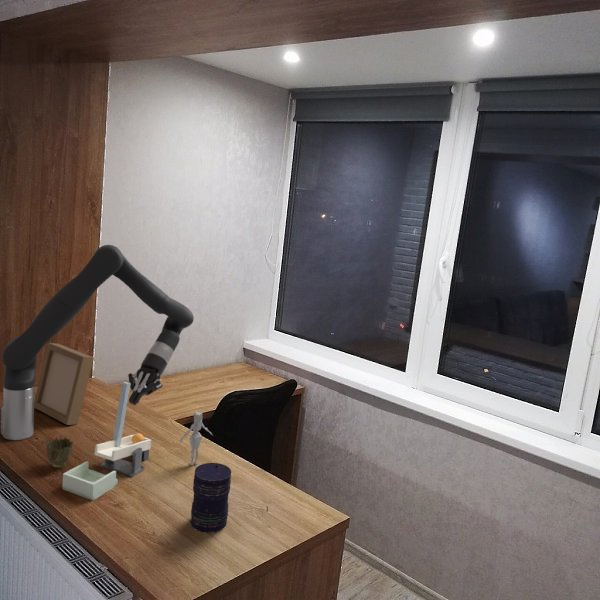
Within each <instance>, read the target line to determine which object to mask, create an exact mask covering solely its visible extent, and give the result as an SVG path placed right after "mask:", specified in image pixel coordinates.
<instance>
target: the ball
mask: <svg viewBox="0 0 600 600" xmlns="http://www.w3.org/2000/svg"><path fill="white" fill-rule="evenodd" d="M134 434H135V435H134ZM134 434H133V435H134V436H133V437H132V442H133V443H134V444H135V443H139V442H142V441H143V440H144V435H143V434H142V433H139V432H137V433H134Z"/></svg>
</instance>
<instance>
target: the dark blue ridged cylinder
mask: <svg viewBox="0 0 600 600" xmlns="http://www.w3.org/2000/svg"><path fill="white" fill-rule="evenodd" d="M231 479H232V470H231V468H230V467H229V466H227V465H225V464H222V463H218V462H206V463H202V464H198V466H196V467H195V469H194V475H193V487H192V492H193V498H192V499H193V500H192V504H191V510H190V517H191V518H190V525H192V526H191V527H192V528H193V530H195V529H196V530H195V531H197V532H199V531H200V533H202V532H206V533H205V534H213V533H212V532H215V533H218V532H217V531H219V532H221V531H223V530H224V529H225V528H226V527H227V525H226V524H228V516H229V515H228V514H229V494H230V490H231V486H232V485H231V484H232V483H231V481H232V480H231ZM225 526H226V527H225ZM224 527H225V528H224ZM223 528H224V529H223ZM222 529H223V530H222ZM220 530H221V531H220Z"/></svg>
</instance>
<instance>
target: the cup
mask: <svg viewBox="0 0 600 600" xmlns="http://www.w3.org/2000/svg"><path fill="white" fill-rule="evenodd" d="M45 446H46V455H47V460H48V461H49V463H50V464H52V468H54V469H56V470H57V469H58V470H59V469H60V470H61V469H63V468H65V466H66V463H67V462H68V461H69V459H70V458H71V456H72V451H73V440H71V441H70V438H67V437H64V438H62V437H60V438H59V439H58V438H57V437H56V438H55V439H54V438H52V439H51V440H50V439H49V440H48V441H46V442H45Z"/></svg>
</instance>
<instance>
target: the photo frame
mask: <svg viewBox="0 0 600 600" xmlns="http://www.w3.org/2000/svg"><path fill="white" fill-rule="evenodd" d="M47 343H48V344H47V349H46V351H45V356H44V360H43V364H42V368H41V372H40V376H39V379H38V380H39V381H38V385H37V387H36V388H37V389H36V391H35V392H36V393H35V395H34V409H37V410H38V411H40V412H42V413H44V414H45V415H48V417H51V418H53V419H55V420H57V421H59V422H60V423H62V424H64V425H67V426H68V425H69V426H71V425H78V424H79V420H80V416H81V411H82V408H83V403H84V399H85V394H86V393H87V392H86V391H87V388H88V383H89V379H90V375H91V370H92V366H93V361H94V357H93V356H91V355H88V354H87V353H84V352H81V351H78V350H75V349H73V348H71V347H69V346H66V345H62V344H60V343H55V342H54V343H53V342H47Z"/></svg>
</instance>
